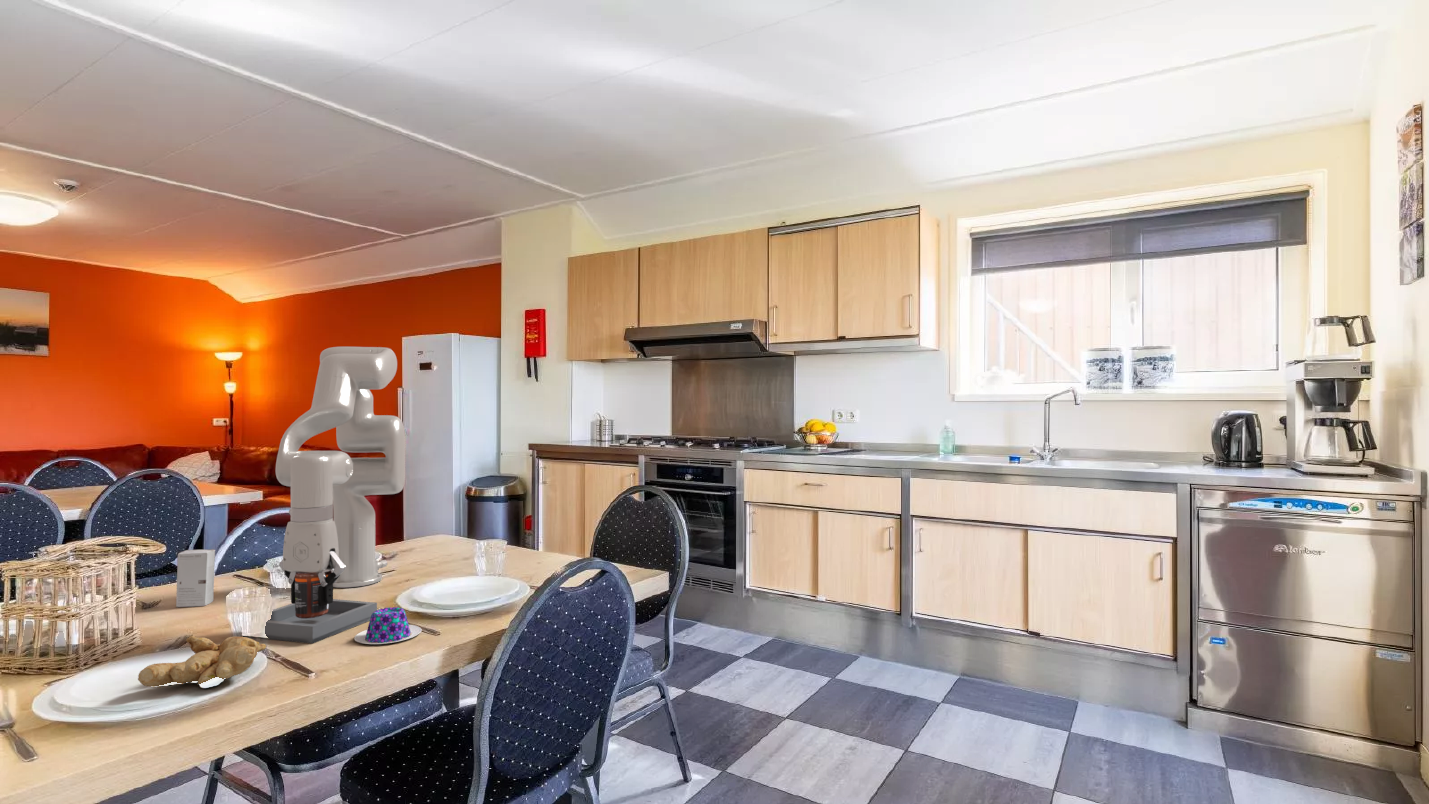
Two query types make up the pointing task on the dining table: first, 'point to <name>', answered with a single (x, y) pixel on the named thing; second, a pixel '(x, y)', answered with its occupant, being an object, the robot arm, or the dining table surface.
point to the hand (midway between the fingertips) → (312, 602)
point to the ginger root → (205, 662)
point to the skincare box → (195, 578)
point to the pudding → (387, 627)
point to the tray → (318, 621)
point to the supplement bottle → (308, 596)
